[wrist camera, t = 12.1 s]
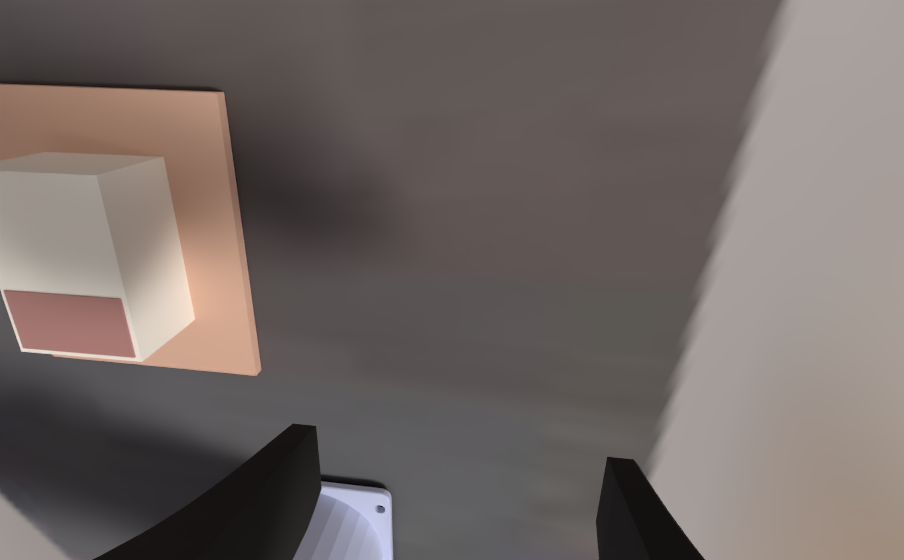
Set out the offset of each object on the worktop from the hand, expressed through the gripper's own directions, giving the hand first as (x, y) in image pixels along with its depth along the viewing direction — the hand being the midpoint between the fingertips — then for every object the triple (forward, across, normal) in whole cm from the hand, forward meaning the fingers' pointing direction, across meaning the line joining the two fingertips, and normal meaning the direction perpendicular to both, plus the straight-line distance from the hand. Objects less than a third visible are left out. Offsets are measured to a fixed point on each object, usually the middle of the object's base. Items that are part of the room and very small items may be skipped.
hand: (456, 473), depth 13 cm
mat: (+9, +15, -2) cm, 18 cm away
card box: (+9, +15, -2) cm, 18 cm away
